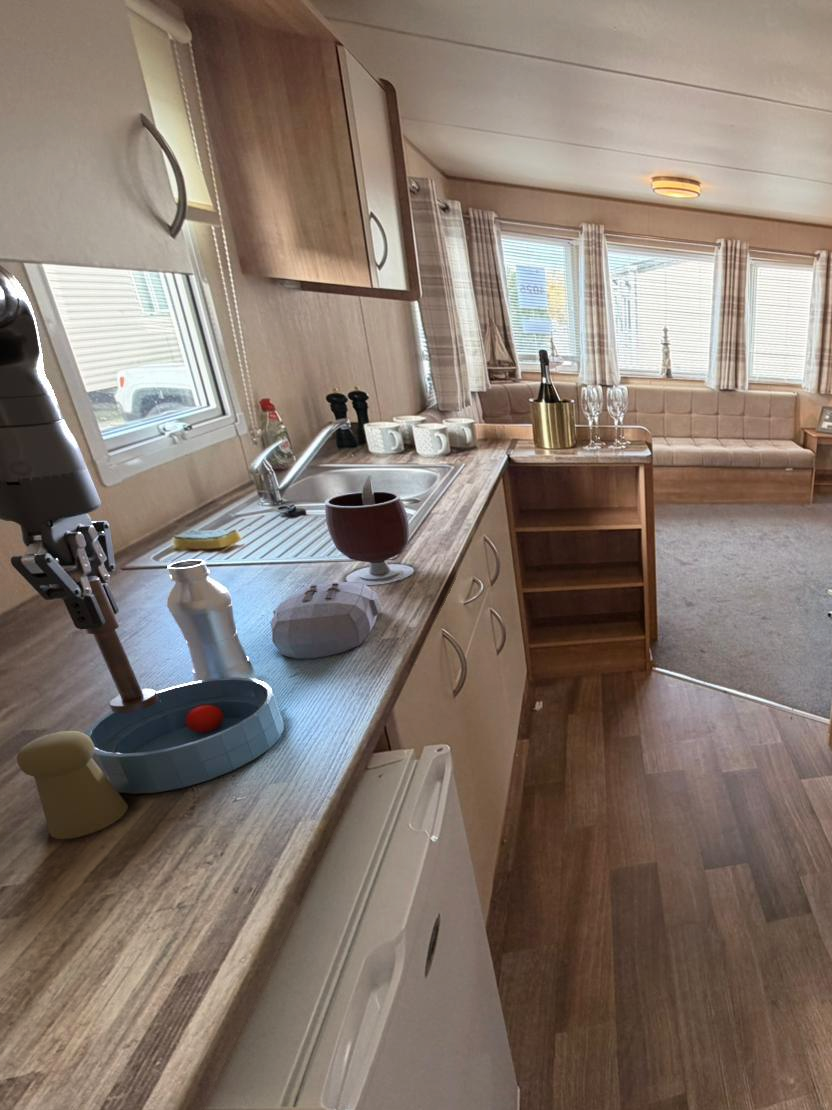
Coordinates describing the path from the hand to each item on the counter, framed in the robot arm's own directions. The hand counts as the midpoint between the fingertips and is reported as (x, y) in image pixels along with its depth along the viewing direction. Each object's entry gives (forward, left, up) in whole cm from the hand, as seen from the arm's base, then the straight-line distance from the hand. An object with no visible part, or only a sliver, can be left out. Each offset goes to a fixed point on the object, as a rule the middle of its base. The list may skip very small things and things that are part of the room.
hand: (98, 620), depth 71 cm
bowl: (+4, 0, -19) cm, 20 cm away
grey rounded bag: (+13, +32, -19) cm, 39 cm away
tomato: (+4, +4, -17) cm, 18 cm away
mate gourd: (+17, +61, -19) cm, 66 cm away
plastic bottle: (+3, +16, -19) cm, 25 cm away
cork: (-2, -11, -19) cm, 22 cm away
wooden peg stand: (0, 0, -11) cm, 11 cm away
